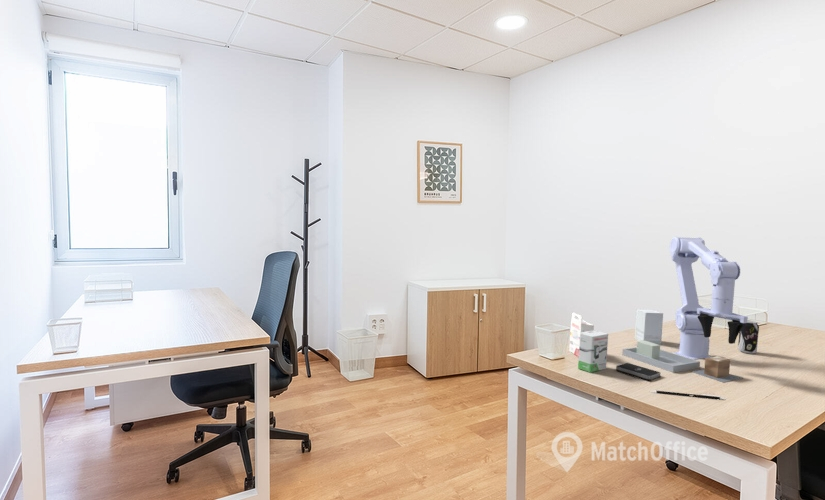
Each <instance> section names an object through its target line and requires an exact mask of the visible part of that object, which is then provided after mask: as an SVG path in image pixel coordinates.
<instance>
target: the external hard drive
mask: <svg viewBox="0 0 825 500" xmlns="http://www.w3.org/2000/svg"><path fill="white" fill-rule="evenodd" d="M615 367H616V368H615V371H616V372H618V373H621V374H624V375H627V376H630V377H634V378H635V379H639V380H643V381H646V382H652V381H653V380H656V379H657V378H661V372H660V371H658V370H654V369H651V368H648V367H645V366H640V365H637V364H633V363H630V362H623V363H621V364H618V365H616V366H615Z"/></svg>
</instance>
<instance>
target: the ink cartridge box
mask: <svg viewBox="0 0 825 500" xmlns="http://www.w3.org/2000/svg"><path fill="white" fill-rule="evenodd" d="M576 317H577V318H576ZM594 328H595V326H594V324H592V323H589V322H587V321H585V320H584V319H583V316H582V315H580V314H578V313H576V312H574V311H572V313H571V320H570V331H569V349H568V351H569V352H570V353H572V354H573V355H574V356H576V357H577V358H579V345H580V333H581V332H587V331H594Z"/></svg>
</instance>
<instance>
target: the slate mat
mask: <svg viewBox="0 0 825 500" xmlns="http://www.w3.org/2000/svg"><path fill="white" fill-rule="evenodd" d="M690 373H694V374H696V375H699V376H702V377H704V378H709V379H712V380H714V381H717V382H721V383H722V384H724V383H728V382H733V381H738V380H742V379H744V378H743V377H741V376H738V375H735V374H731V373H729V376H725V377H720V378H716V377H713V376H709V375H706V374H704V368H702V369H694V370H690Z"/></svg>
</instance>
